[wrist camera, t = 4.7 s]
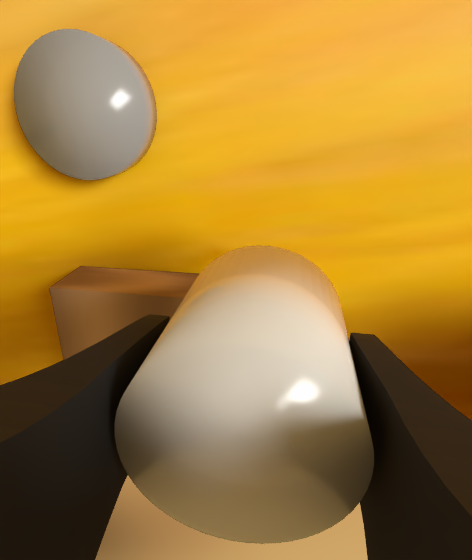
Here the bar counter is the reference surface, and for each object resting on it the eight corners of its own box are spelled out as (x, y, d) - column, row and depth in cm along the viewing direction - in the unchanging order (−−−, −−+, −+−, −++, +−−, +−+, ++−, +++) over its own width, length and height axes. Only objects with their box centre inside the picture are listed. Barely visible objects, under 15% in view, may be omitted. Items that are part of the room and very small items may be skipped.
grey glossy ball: (153, 36, 17) (138, 27, 15) (162, 176, 19) (150, 182, 18) (27, 38, 18) (0, 30, 16) (50, 172, 20) (29, 178, 18)
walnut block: (297, 280, 20) (297, 306, 17) (283, 451, 25) (282, 493, 22) (80, 266, 22) (49, 287, 19) (107, 430, 26) (84, 466, 24)
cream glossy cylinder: (355, 254, 11) (402, 365, 6) (329, 392, 13) (348, 561, 8) (187, 238, 12) (104, 327, 7) (186, 373, 14) (122, 519, 9)
